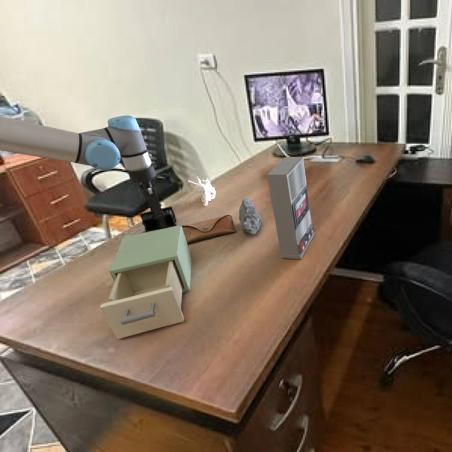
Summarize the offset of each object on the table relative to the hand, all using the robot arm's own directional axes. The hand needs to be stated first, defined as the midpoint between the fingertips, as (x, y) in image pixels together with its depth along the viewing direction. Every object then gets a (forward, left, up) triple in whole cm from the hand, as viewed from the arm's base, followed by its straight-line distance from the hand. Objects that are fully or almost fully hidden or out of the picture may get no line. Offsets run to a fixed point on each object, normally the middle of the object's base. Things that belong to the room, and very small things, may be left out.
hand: (162, 227), depth 120 cm
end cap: (0, 0, 0) cm, 0 cm away
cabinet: (-6, -32, 0) cm, 33 cm away
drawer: (-10, -46, +1) cm, 47 cm away
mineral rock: (+23, -21, 0) cm, 31 cm away
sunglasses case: (+11, -16, 0) cm, 19 cm away
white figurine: (+19, +14, 0) cm, 23 cm away
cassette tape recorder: (+30, -42, 0) cm, 52 cm away
